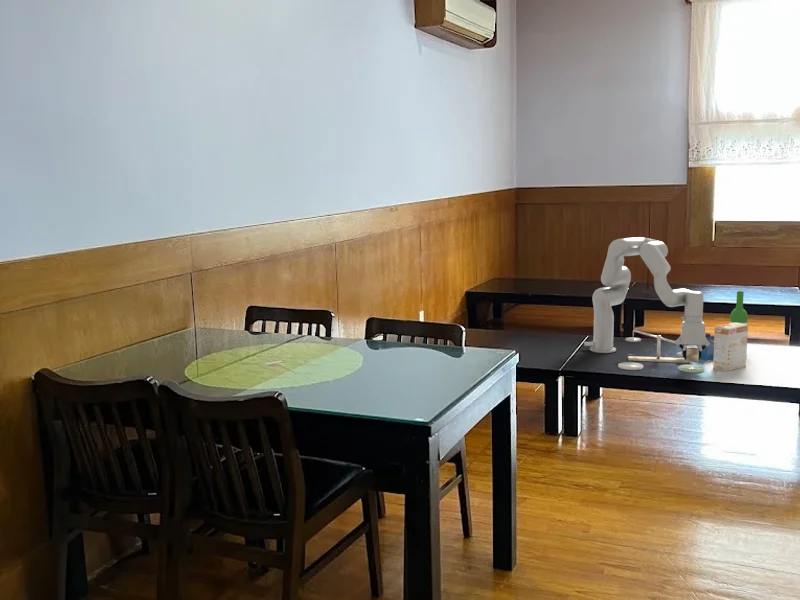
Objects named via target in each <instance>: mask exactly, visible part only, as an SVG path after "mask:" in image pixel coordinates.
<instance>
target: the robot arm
mask: <svg viewBox="0 0 800 600" xmlns="http://www.w3.org/2000/svg"><path fill="white" fill-rule="evenodd" d="M668 252H669V249H668V246H667V245H666V244H665V243H664V242H663V241H660V240H658V239H657V240H656V239H652V238H649V237H648V238H647V237H644V236H643V237H641V236H637V237H625V238H617V239H614V240H613V241H612V242H611V243H610V244H609V245H608V250H607V255H606V259H605V262H604V265H603V268H602V273H601V275H600V281H601V283H602V285H603V287H599V288H597V289H595V290H594V292H593V294H592V299H591V300H592V305H593V306H592V307H593V340H592V341H584V342H583V346H584V347H589V350H590V352H593V353H598V354H599V353H600V354H611V353H615V352H617V348H616V347H614V326H615V325H614V322H615V315H614V311H613V308H612V307H613V306H617V305H621V304H622V303H623V302H624V301H625V299H626V296H627V294H628V289H629V286H630V283H631V281H632V279H631V278H632V275H631V274H632V273H631V271H630V269H629V268H628V267H627V266H625V265H624V263H625V257H631V256H632V257H633V256H640V257H641V259H642V261H643V262H644V263H645V265H646V267H647V268H648V269H649V271H650V273H651V274H652V276H653V285H654V286H653V287H654V290H655V292H656V294H657V296H658V297H659V299H660V301H661V302H662V303H663V304H664V305H665V306H666V307H669V308H674V307H681V306H684V315H683V316H680V319H681V320H682V323H681V327H680V328H681V329H680V336H679V337H678V338H677V339H676V340H674V341H675V343H676V345H677V346H678V347H679V348H680V349H681V351H682V350H683V357H682V358H684V359H685V360H686V354H687V351H686V347H687V346H697V345H698V348H699V360H698V361H700V360H701V359H700V358H701V353H702V350H703V349H705V348H706V347H707V346H708V345H710V342H709V341H708V340H707V339H706V337H705V333H706V323H705V322H704V321H703V315H704V314H703V313H704V293H703V292H702V291H699V290H690V289H687V288H676V289H672V287H671V286H670V284H669V283H668V279H667V275H668V274H669V272H671V269H672V268H671V267H672V266H671V265H670V264H669V262H668V261H667V259H666V257H667V255H668ZM679 342H680V343H682V344H683V345H682V344H680V343H679ZM705 342H706V343H705ZM675 343H674V344H675ZM701 345H702V346H701Z"/></svg>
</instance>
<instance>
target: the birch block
mask: <svg viewBox="0 0 800 600" xmlns="http://www.w3.org/2000/svg"><path fill="white" fill-rule="evenodd" d="M686 351H687V354H686V362H689V363H699V361H700V360H699V348H698V347H697V346H695V345H687V347H686Z"/></svg>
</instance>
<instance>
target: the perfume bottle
mask: <svg viewBox="0 0 800 600" xmlns="http://www.w3.org/2000/svg"><path fill="white" fill-rule="evenodd" d="M705 337H706V339H707V340H708V341H709V342H710V345H708V346H707V347H706V348H705V349H703V350H702V353H701V358H700V360H702V361H705V362H707V361H708V360H709V361H713V358H714V341H713V340H711V339H712V336H711V333H709V332H708V333H707V332H705ZM705 343H706V342H705ZM701 346H702V345H701ZM696 347H698V345H696Z"/></svg>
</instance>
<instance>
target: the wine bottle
mask: <svg viewBox="0 0 800 600" xmlns="http://www.w3.org/2000/svg"><path fill="white" fill-rule="evenodd" d="M735 304H736V305H735V308H733V310H732V311H731V313H730V316H729V324H730V323H735V322H736V323H742V324H747V325H748V317H749V314H748V312H747V311H746V309H744V291H739V290H738V291H737V292H736V302H735Z"/></svg>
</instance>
